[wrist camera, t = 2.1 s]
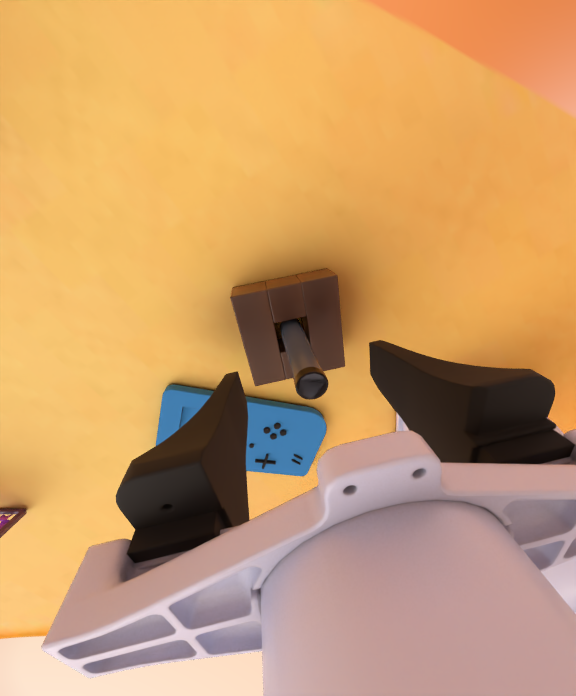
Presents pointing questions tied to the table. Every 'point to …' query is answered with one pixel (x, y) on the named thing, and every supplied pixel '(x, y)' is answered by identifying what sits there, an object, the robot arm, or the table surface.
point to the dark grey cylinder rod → (302, 361)
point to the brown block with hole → (285, 304)
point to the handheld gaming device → (255, 429)
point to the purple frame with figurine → (7, 524)
